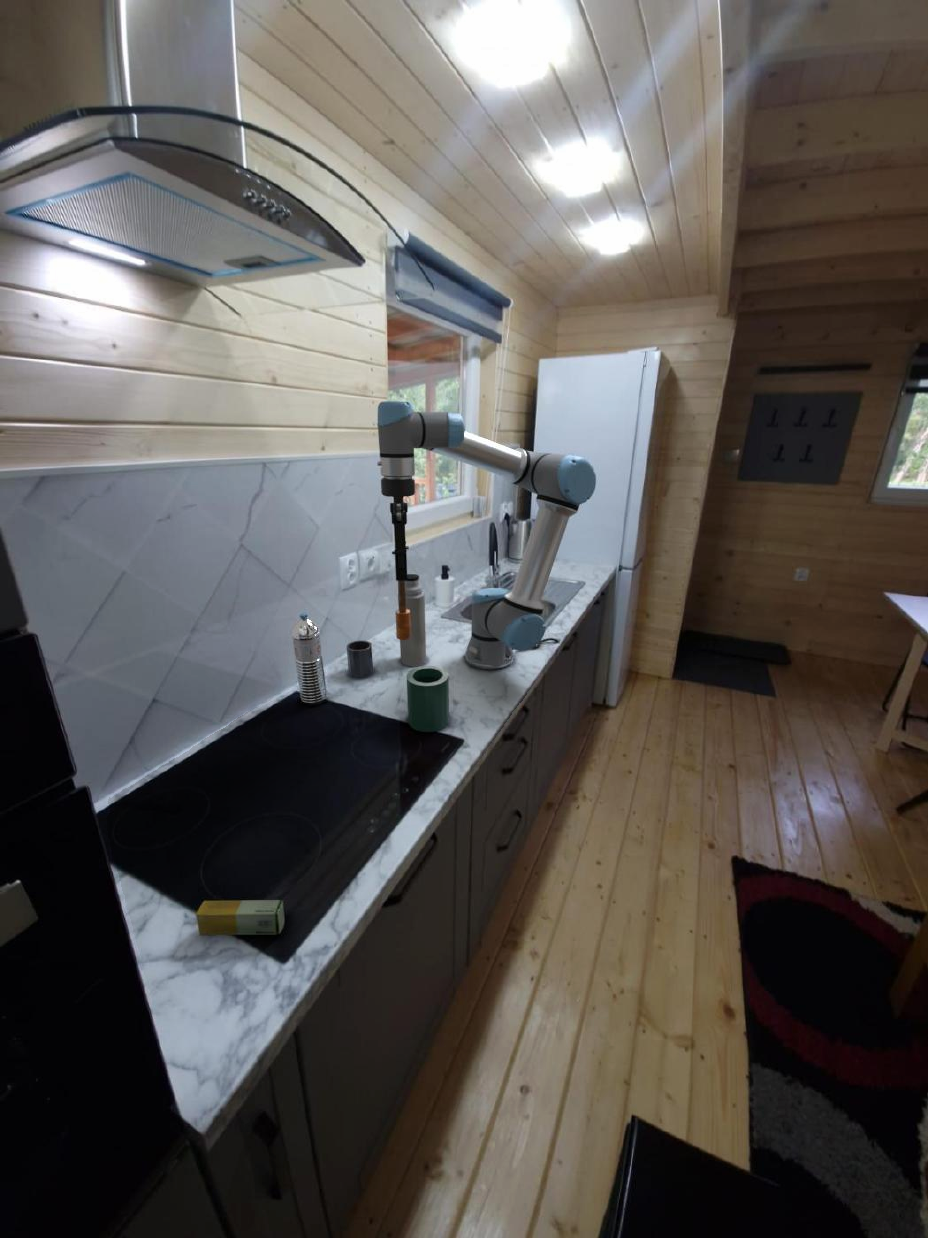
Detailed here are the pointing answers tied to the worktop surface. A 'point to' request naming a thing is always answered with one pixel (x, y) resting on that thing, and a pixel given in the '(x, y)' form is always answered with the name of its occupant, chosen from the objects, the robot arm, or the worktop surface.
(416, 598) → the thermos bottle
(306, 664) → the water bottle
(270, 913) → the medication box
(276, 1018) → the worktop surface
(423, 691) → the jar
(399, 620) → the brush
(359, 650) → the holder
